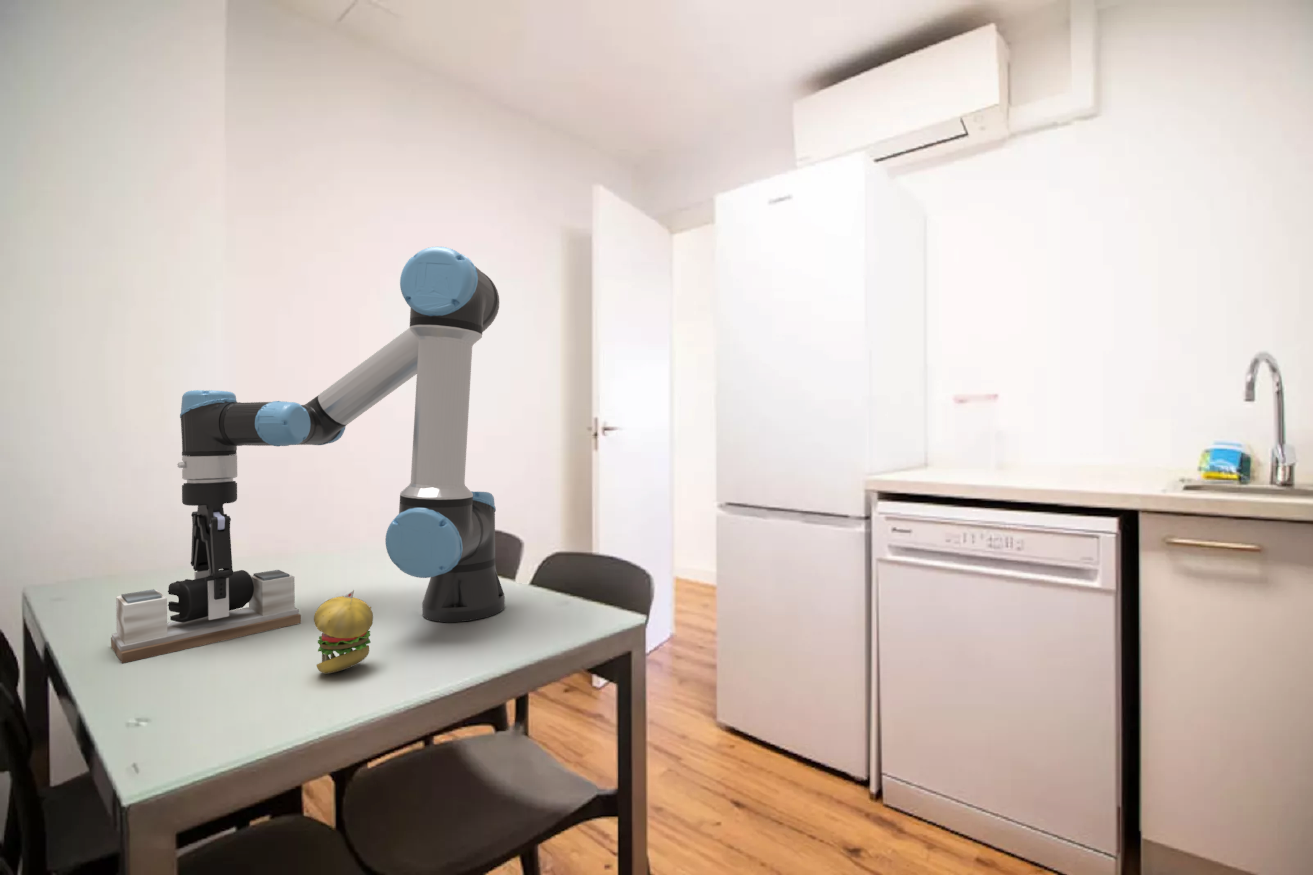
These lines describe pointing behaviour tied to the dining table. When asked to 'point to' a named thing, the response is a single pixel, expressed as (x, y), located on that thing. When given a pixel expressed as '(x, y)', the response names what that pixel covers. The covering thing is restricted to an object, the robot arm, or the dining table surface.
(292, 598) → the rail board
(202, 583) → the end cap
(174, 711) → the dining table surface
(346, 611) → the hamburger
